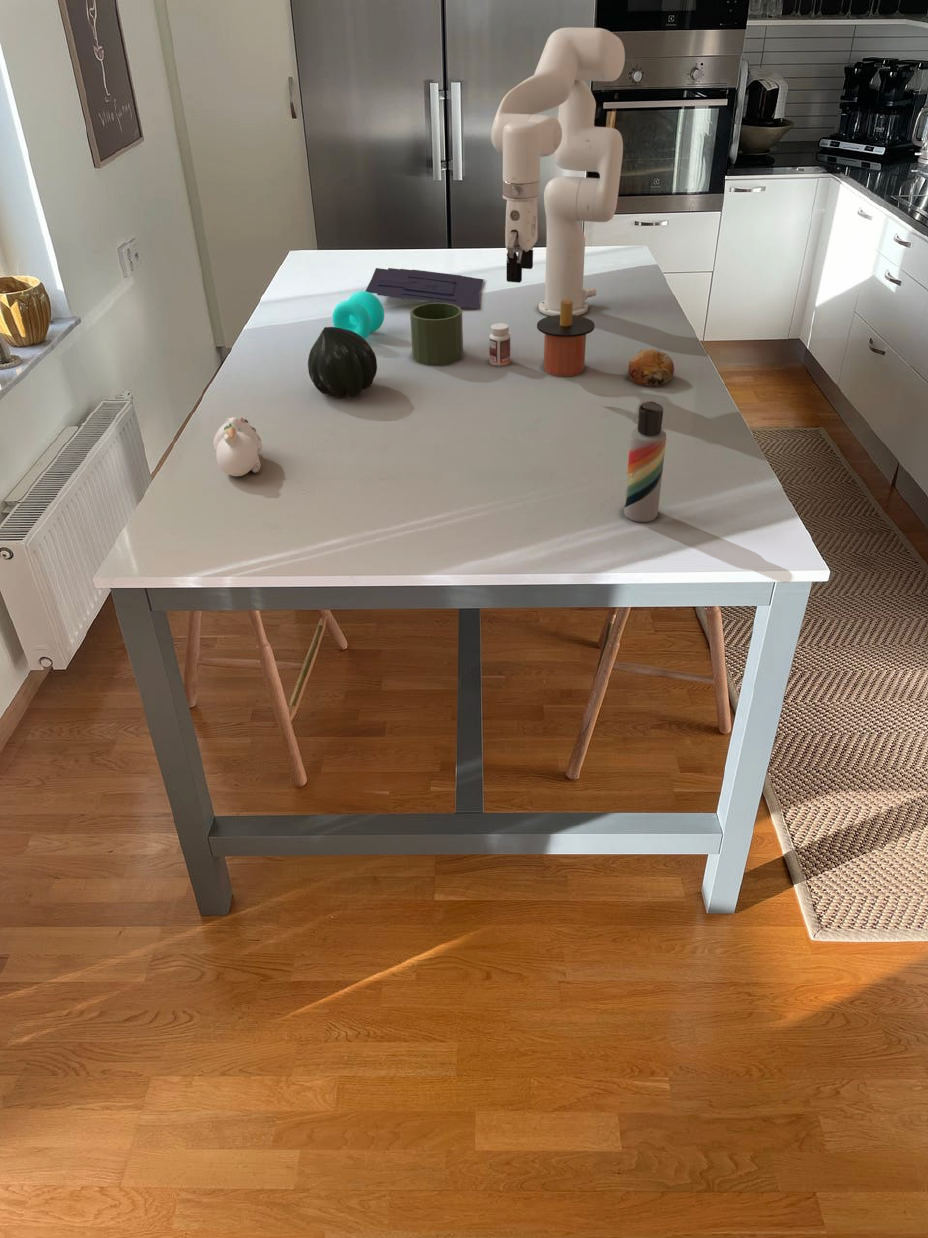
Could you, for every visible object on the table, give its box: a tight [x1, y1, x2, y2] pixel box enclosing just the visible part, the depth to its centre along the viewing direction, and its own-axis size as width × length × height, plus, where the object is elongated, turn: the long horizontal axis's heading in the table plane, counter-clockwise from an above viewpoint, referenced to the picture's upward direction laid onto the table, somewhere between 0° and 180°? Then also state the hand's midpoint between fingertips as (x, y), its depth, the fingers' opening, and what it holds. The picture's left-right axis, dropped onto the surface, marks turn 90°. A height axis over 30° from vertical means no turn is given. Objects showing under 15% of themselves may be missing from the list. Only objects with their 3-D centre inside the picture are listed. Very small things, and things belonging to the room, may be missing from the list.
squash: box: [307, 326, 378, 399], centre depth 204 cm, size 14×15×15 cm
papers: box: [365, 267, 485, 309], centre depth 257 cm, size 24×30×4 cm
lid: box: [536, 300, 596, 337], centre depth 208 cm, size 13×13×6 cm
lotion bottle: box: [623, 401, 667, 523], centre depth 157 cm, size 6×6×20 cm
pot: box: [409, 302, 464, 367], centre depth 219 cm, size 12×12×10 cm
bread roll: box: [628, 348, 675, 387], centre depth 208 cm, size 10×10×8 cm
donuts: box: [332, 290, 385, 340], centre depth 231 cm, size 10×10×10 cm
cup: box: [543, 334, 587, 377], centre depth 212 cm, size 9×9×9 cm
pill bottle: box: [488, 322, 511, 367], centre depth 216 cm, size 5×5×8 cm
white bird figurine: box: [213, 416, 263, 477], centre depth 178 cm, size 10×8×15 cm
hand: (519, 274), depth 205 cm, fingers open, 9 cm apart
